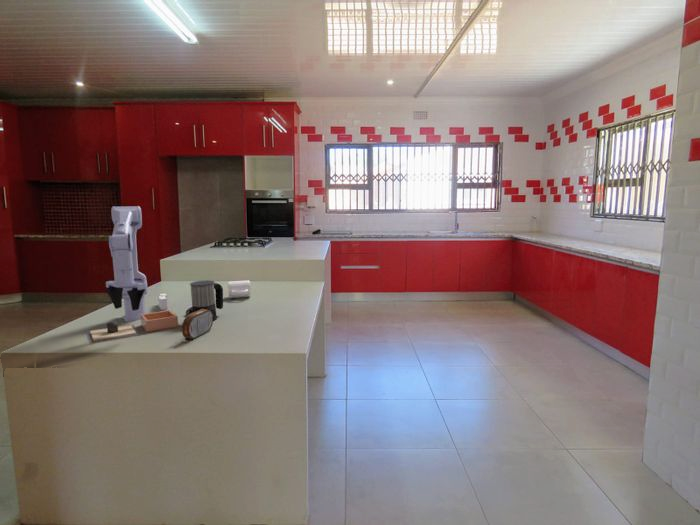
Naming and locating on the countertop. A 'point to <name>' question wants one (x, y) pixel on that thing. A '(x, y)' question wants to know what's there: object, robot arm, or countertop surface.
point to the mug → (239, 289)
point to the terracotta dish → (159, 321)
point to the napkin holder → (163, 301)
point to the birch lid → (112, 332)
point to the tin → (197, 323)
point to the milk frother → (206, 297)
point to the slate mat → (111, 339)
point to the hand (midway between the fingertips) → (127, 308)
